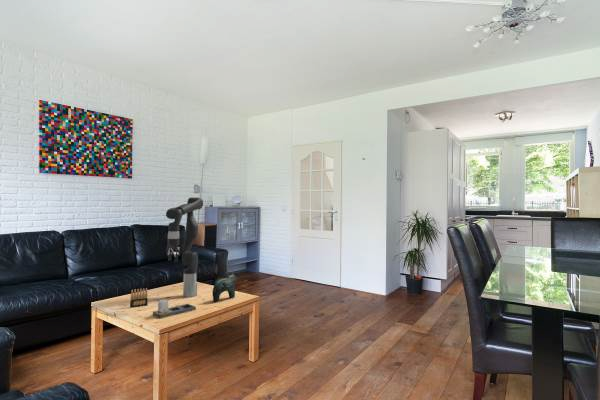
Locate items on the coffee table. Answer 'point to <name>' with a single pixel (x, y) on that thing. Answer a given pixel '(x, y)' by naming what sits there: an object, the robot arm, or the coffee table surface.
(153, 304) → the coffee table surface
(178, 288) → the coffee table surface
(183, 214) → the robot arm
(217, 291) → the dark green animal figure
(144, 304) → the ammunition clip
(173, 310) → the grey peg board
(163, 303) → the grey metal block
